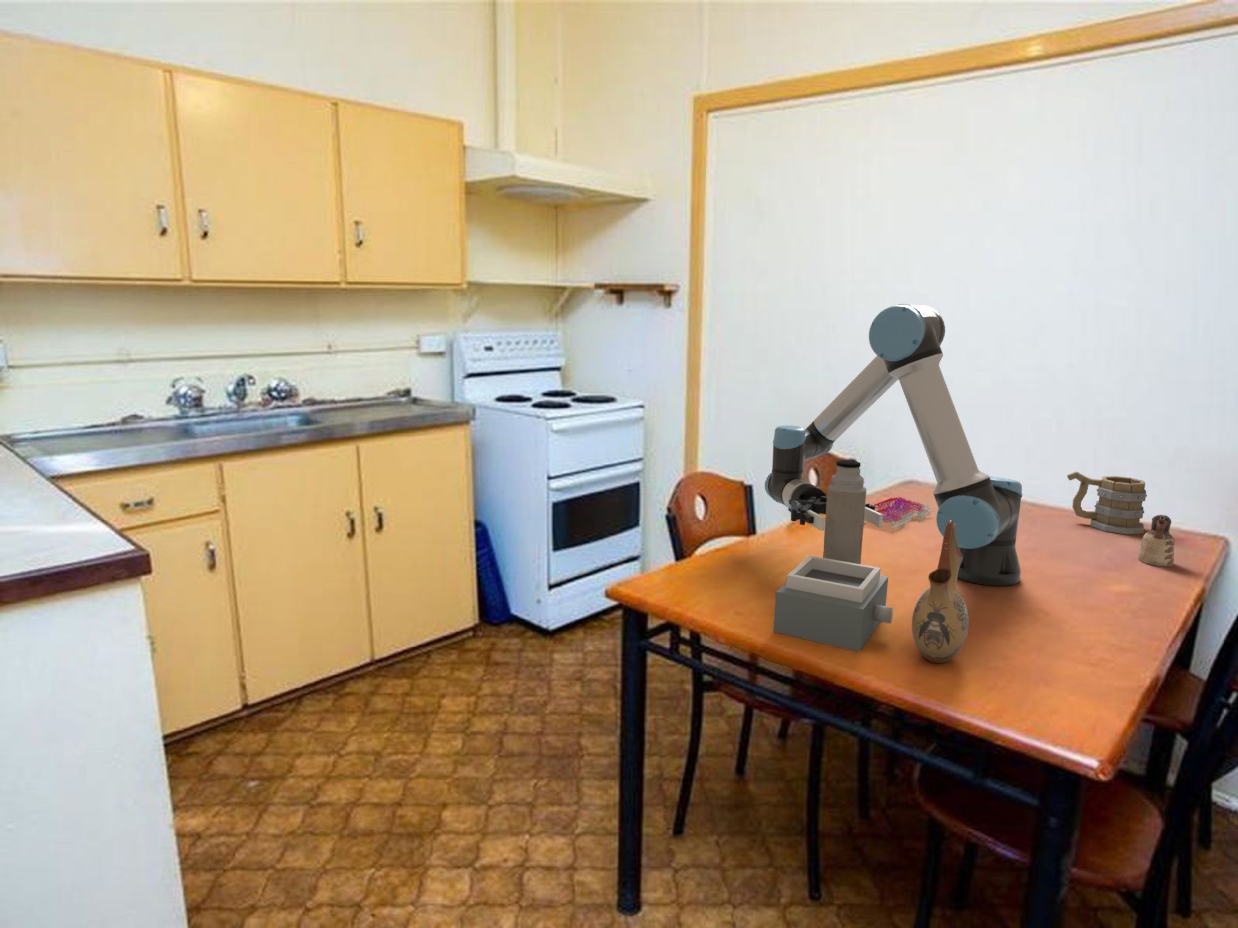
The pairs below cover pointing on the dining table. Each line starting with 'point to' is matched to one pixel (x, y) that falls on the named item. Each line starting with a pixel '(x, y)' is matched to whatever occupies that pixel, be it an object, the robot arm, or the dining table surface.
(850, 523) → the thermos bottle
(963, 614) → the ceramic vessel
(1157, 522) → the figurine
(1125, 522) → the tankard
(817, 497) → the robot arm
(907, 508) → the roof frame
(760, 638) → the dining table surface
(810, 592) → the box
